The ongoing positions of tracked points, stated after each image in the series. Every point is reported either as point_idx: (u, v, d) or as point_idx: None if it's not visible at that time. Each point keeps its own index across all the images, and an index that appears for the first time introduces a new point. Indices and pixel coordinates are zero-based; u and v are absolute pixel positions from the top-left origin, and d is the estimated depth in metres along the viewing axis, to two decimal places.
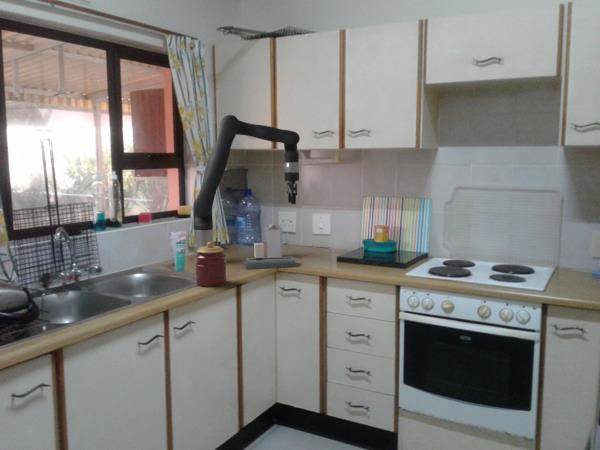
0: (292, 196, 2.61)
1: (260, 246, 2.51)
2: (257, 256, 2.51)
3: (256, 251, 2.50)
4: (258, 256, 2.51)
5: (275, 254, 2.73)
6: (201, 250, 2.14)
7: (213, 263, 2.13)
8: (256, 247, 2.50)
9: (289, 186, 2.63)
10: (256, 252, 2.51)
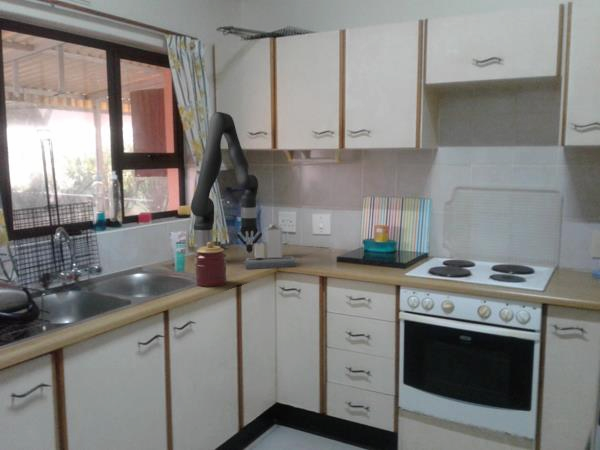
0: (251, 244, 2.51)
1: (260, 246, 2.51)
2: (257, 256, 2.51)
3: (256, 251, 2.50)
4: (258, 256, 2.51)
5: (275, 254, 2.73)
6: (201, 250, 2.14)
7: (213, 263, 2.13)
8: (256, 247, 2.50)
9: (253, 233, 2.50)
10: (256, 252, 2.51)
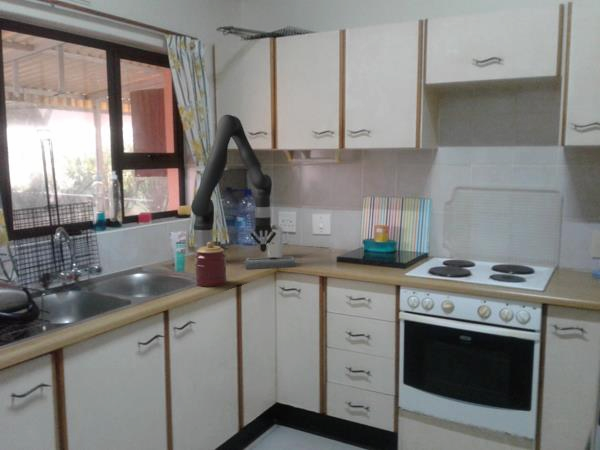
0: (265, 243, 2.53)
1: (274, 246, 2.52)
2: (271, 255, 2.52)
3: (270, 250, 2.52)
4: (272, 255, 2.52)
5: None
6: (201, 250, 2.14)
7: (213, 263, 2.13)
8: (270, 246, 2.52)
9: (267, 233, 2.51)
10: (270, 251, 2.52)
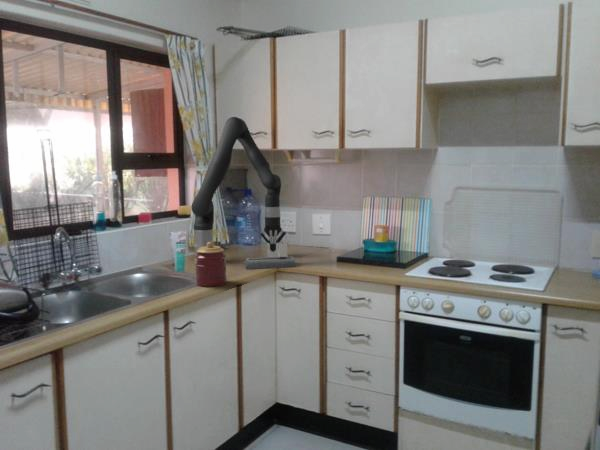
0: None
1: (284, 245, 2.53)
2: (281, 255, 2.53)
3: (280, 250, 2.53)
4: (282, 255, 2.53)
5: (275, 254, 2.73)
6: (201, 250, 2.14)
7: (213, 263, 2.13)
8: (280, 246, 2.52)
9: (276, 232, 2.52)
10: (280, 251, 2.53)
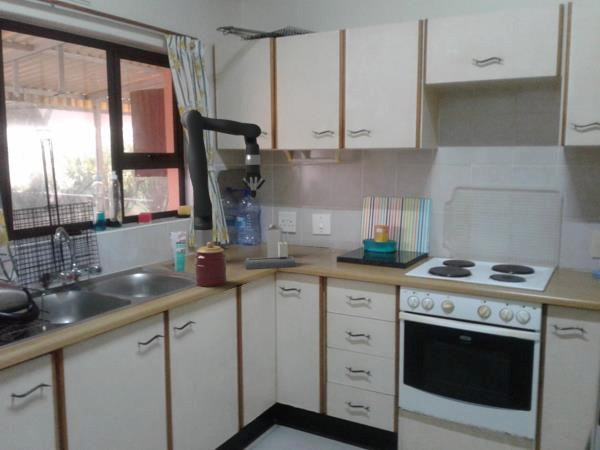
0: (255, 190, 2.70)
1: (284, 245, 2.53)
2: (281, 255, 2.53)
3: (280, 250, 2.53)
4: (282, 255, 2.53)
5: (275, 254, 2.73)
6: (201, 250, 2.14)
7: (213, 263, 2.13)
8: (280, 246, 2.52)
9: (256, 179, 2.68)
10: (280, 251, 2.53)
